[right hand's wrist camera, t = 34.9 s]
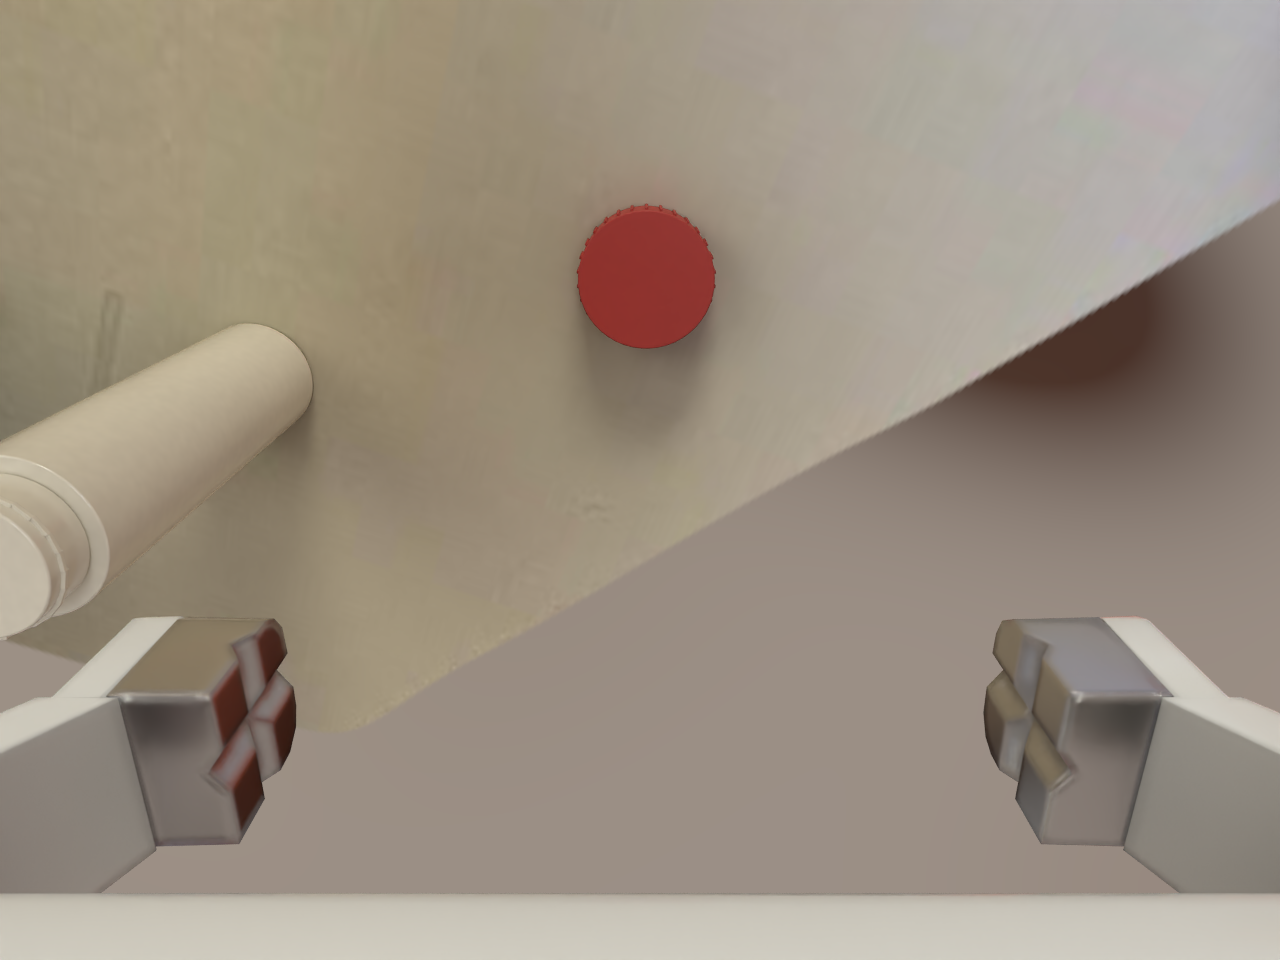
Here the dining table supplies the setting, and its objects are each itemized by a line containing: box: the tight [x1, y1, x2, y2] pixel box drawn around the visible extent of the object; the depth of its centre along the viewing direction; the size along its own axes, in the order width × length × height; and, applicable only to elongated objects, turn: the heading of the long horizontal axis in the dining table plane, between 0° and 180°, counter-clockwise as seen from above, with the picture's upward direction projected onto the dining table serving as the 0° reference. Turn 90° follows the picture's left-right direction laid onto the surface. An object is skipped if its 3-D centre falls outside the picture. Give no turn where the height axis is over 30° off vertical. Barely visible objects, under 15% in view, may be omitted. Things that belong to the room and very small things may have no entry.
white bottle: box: [0, 323, 313, 640], centre depth 30 cm, size 5×5×18 cm
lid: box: [577, 204, 716, 348], centre depth 36 cm, size 6×6×2 cm
